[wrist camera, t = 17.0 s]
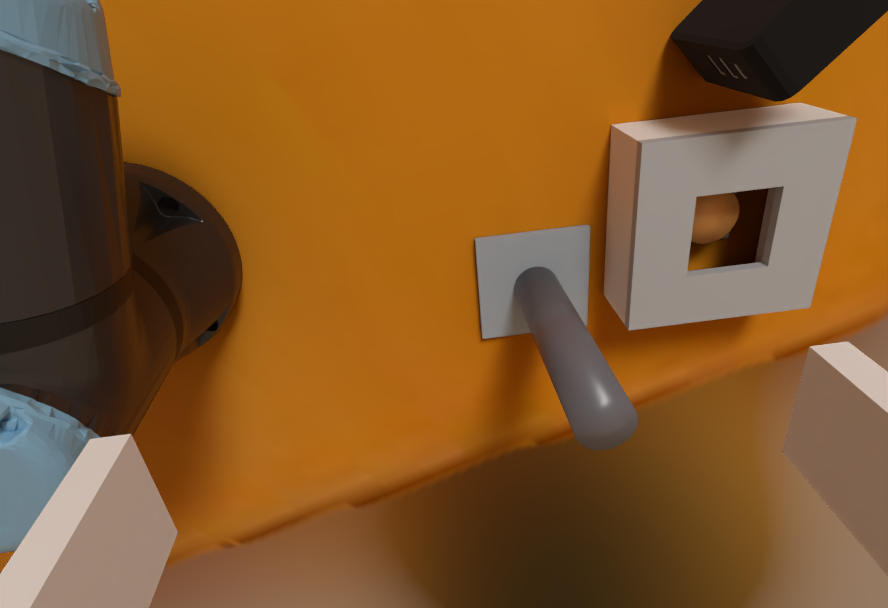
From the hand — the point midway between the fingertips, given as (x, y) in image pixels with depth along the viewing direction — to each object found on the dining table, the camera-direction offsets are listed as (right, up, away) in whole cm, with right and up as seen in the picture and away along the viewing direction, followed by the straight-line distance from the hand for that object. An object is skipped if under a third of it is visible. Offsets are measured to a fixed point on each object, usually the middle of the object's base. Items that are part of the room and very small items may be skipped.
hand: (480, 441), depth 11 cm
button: (+19, +10, +33) cm, 39 cm away
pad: (+7, +5, +36) cm, 36 cm away
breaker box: (+19, +11, +34) cm, 40 cm away
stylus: (+7, +4, +35) cm, 36 cm away
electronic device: (+19, +23, +27) cm, 40 cm away
